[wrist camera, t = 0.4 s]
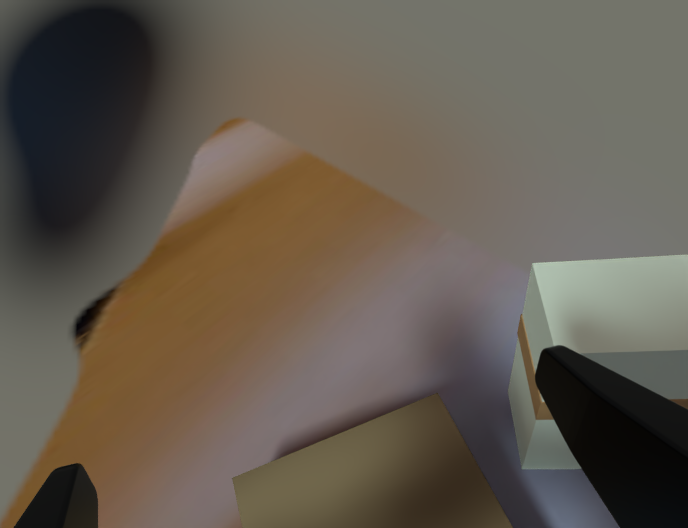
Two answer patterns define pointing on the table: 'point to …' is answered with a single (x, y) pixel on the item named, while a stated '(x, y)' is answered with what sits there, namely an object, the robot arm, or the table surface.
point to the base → (375, 479)
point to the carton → (599, 337)
